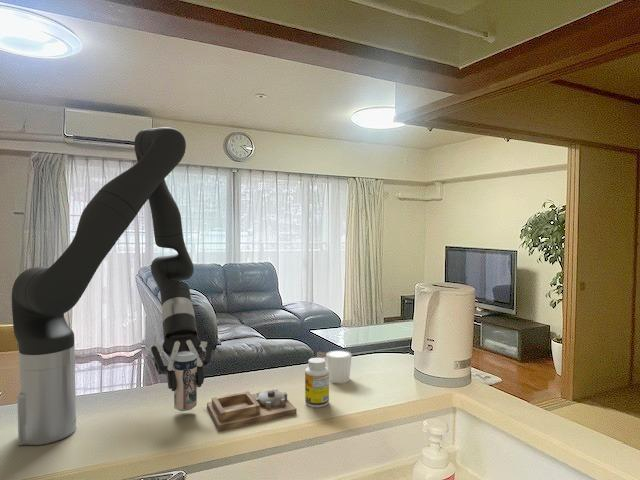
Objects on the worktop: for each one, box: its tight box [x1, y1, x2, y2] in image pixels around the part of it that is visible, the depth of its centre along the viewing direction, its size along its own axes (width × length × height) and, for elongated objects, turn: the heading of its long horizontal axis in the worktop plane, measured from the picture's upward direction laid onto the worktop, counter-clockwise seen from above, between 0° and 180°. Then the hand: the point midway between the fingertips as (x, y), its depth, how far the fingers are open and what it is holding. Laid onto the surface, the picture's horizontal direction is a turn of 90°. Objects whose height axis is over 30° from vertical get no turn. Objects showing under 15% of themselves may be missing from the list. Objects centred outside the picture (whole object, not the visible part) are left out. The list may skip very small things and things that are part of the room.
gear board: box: [206, 389, 298, 432], centre depth 93 cm, size 17×12×3 cm
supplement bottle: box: [304, 357, 330, 408], centre depth 97 cm, size 6×6×10 cm
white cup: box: [325, 350, 353, 384], centre depth 112 cm, size 7×7×7 cm
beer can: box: [173, 351, 198, 412], centre depth 92 cm, size 5×5×12 cm
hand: (187, 387), depth 90 cm, fingers closed on beer can, 4 cm apart
